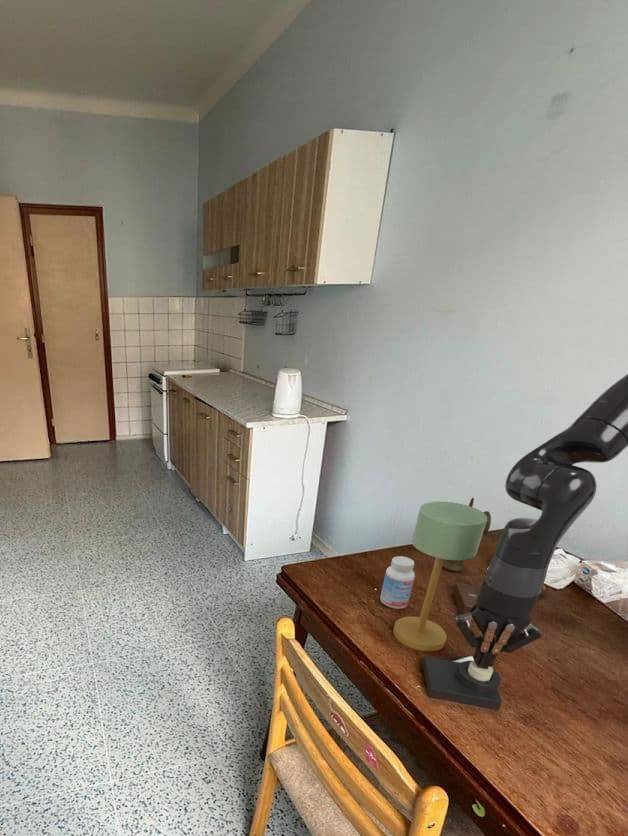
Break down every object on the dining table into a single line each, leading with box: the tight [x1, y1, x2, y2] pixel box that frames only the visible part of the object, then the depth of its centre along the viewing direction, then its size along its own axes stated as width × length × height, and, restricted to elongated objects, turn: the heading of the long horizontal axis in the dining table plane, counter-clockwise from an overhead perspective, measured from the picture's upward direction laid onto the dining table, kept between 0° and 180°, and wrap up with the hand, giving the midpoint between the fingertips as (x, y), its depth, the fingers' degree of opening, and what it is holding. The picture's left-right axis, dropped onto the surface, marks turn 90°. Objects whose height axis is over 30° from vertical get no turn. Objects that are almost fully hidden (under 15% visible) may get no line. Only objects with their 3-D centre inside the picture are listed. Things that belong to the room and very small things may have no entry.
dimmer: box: [452, 582, 482, 615], centre depth 107 cm, size 12×10×3 cm
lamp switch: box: [467, 660, 494, 681], centre depth 84 cm, size 4×4×2 cm
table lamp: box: [392, 501, 487, 652], centre depth 93 cm, size 11×11×28 cm
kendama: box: [442, 497, 492, 573], centre depth 120 cm, size 6×10×20 cm, turn 72°
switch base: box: [421, 656, 503, 711], centre depth 86 cm, size 11×9×4 cm
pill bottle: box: [379, 555, 416, 610], centre depth 108 cm, size 6×6×11 cm
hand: (481, 665), depth 84 cm, fingers closed
